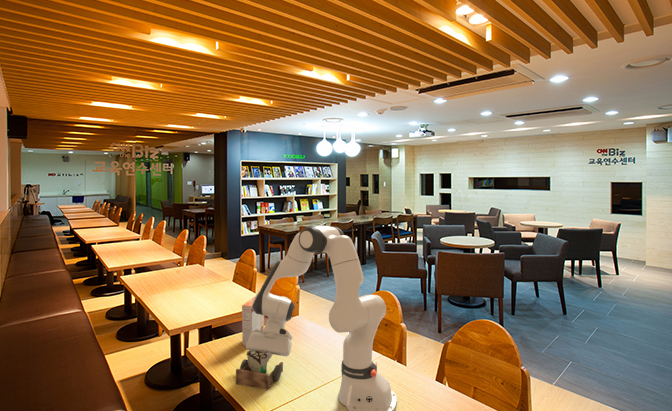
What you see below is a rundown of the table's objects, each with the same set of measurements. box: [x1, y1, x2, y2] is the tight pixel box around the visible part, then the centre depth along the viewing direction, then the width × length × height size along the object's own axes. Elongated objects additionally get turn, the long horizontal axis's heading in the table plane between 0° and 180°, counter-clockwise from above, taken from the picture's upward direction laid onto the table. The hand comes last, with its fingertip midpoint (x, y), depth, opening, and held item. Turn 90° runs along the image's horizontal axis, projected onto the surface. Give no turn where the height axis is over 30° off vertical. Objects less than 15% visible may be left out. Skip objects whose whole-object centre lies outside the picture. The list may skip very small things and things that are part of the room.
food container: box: [246, 350, 270, 374], centre depth 152 cm, size 12×6×10 cm, turn 43°
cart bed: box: [235, 358, 284, 391], centre depth 152 cm, size 16×15×6 cm
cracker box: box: [241, 296, 265, 347], centre depth 186 cm, size 14×6×21 cm, turn 166°
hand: (262, 363), depth 154 cm, fingers closed
